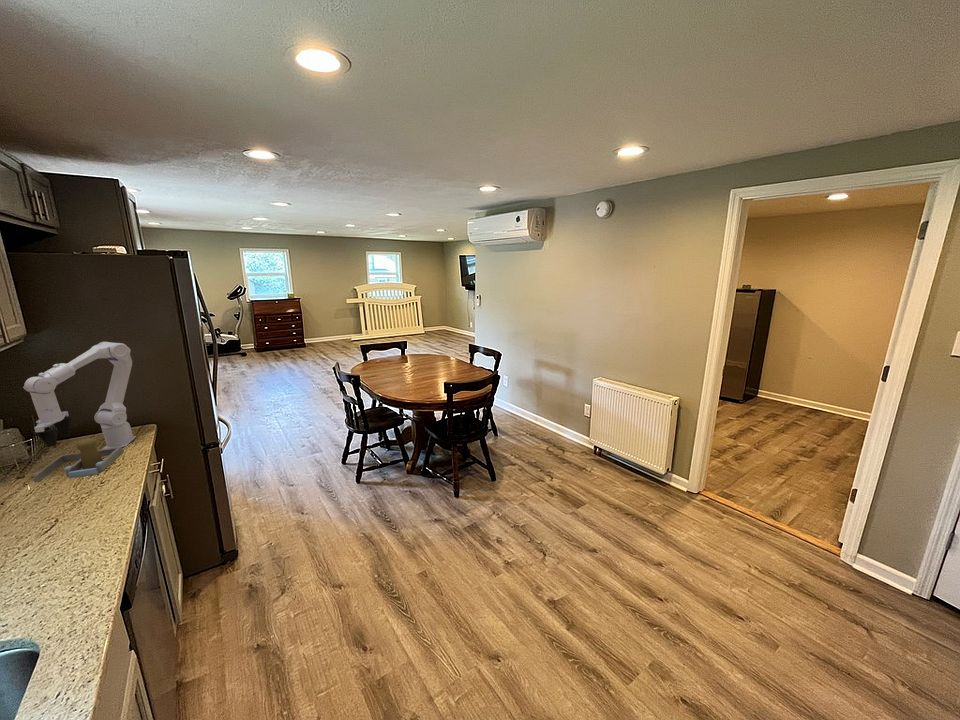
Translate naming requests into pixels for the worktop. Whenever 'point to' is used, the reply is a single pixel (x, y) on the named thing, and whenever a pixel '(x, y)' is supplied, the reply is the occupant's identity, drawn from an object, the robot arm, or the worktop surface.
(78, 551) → the worktop surface
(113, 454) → the blue open frame
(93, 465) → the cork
